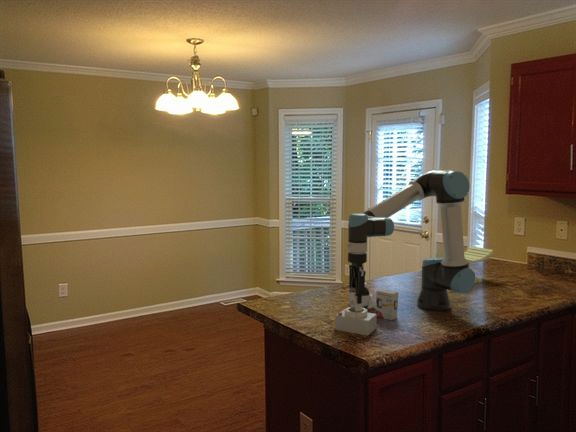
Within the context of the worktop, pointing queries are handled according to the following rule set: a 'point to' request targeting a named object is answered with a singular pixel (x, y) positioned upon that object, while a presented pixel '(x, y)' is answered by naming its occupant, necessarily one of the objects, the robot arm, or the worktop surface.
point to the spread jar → (365, 298)
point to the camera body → (355, 321)
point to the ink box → (386, 304)
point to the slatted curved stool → (473, 256)
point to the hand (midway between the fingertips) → (356, 308)
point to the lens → (353, 299)
